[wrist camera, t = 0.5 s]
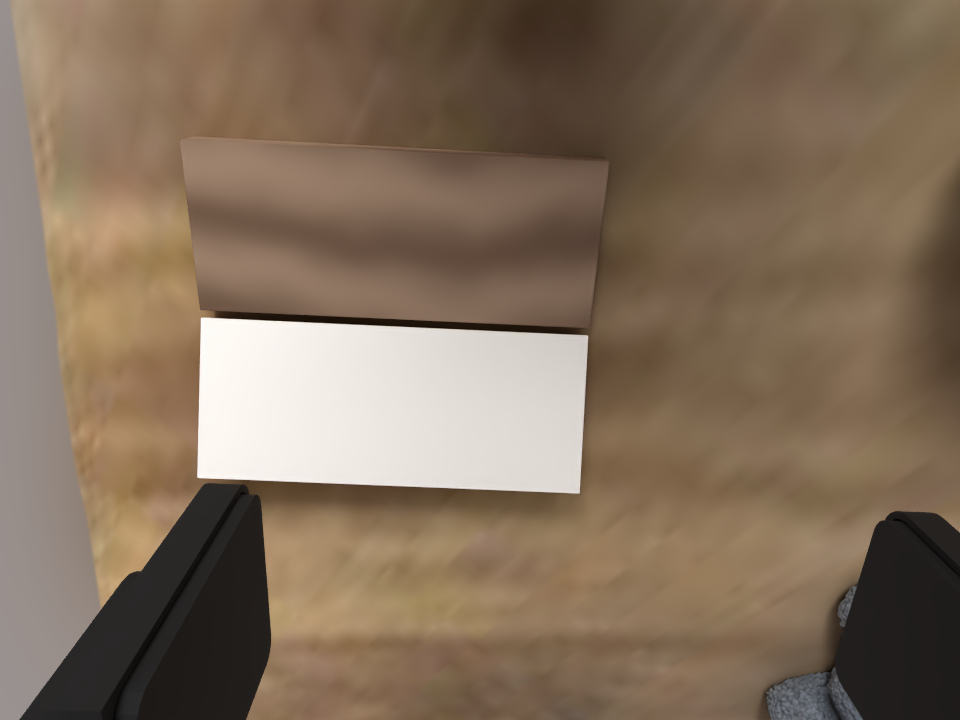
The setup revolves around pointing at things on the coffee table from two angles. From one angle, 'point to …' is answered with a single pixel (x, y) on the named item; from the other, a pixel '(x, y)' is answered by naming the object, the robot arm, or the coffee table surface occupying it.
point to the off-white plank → (391, 405)
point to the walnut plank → (394, 231)
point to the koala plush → (814, 690)
